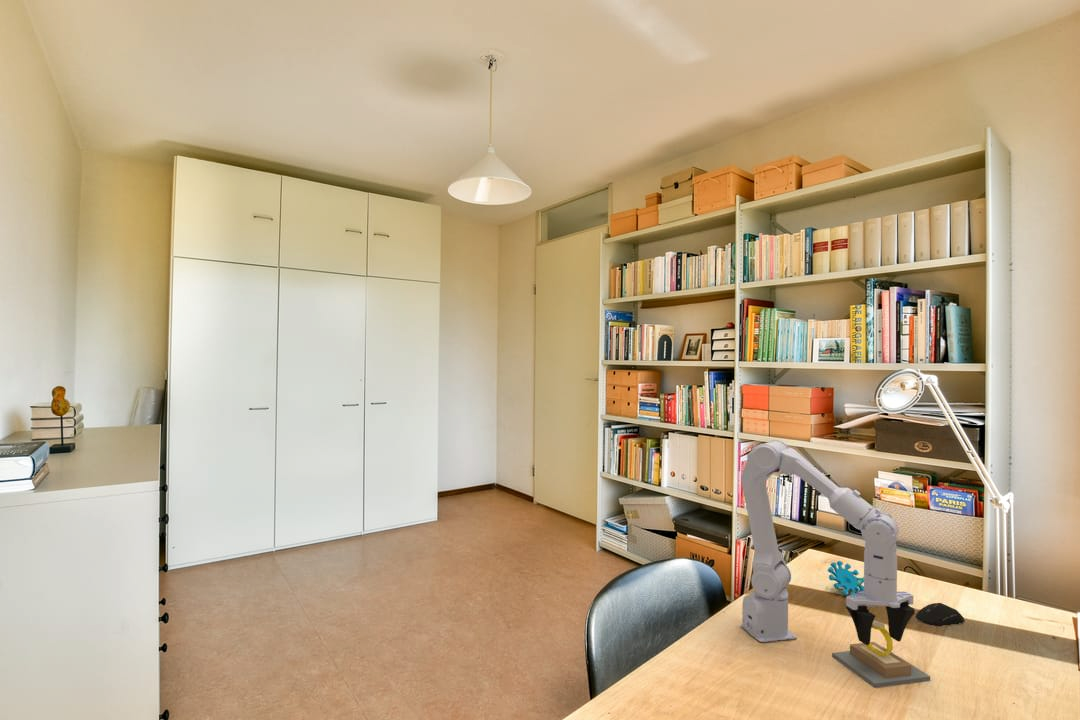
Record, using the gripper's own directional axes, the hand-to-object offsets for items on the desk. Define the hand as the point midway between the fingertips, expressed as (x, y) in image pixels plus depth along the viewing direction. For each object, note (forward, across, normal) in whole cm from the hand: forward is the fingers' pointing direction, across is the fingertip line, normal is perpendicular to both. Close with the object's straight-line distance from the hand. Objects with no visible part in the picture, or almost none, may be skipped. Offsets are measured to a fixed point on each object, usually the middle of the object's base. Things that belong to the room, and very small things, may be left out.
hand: (879, 640), depth 108 cm
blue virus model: (+6, +22, +33) cm, 40 cm away
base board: (+6, 0, 0) cm, 6 cm away
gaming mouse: (+6, +32, +15) cm, 36 cm away
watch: (+3, 0, +1) cm, 3 cm away
